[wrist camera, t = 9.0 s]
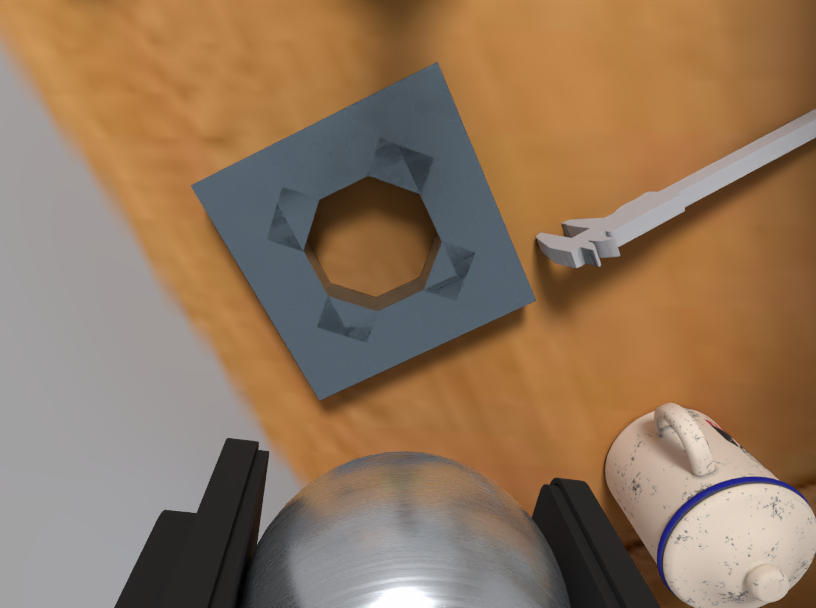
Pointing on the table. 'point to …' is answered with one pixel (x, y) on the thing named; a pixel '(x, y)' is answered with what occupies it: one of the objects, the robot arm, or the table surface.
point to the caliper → (668, 199)
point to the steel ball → (403, 542)
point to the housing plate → (340, 167)
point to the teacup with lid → (709, 511)
